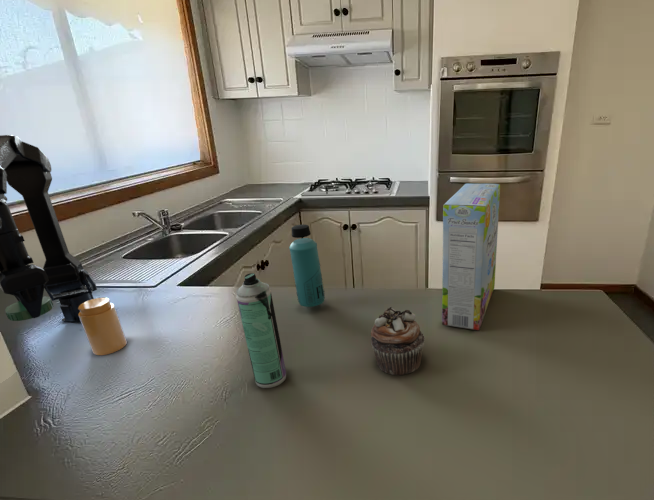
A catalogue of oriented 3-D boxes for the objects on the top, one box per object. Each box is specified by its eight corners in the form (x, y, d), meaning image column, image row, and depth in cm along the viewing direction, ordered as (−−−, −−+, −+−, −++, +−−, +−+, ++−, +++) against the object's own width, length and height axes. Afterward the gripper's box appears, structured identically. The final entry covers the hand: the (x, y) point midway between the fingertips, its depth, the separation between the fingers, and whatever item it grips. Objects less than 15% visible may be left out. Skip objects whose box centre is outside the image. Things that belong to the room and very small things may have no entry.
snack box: (483, 332, 84) (487, 205, 74) (440, 327, 87) (438, 204, 77) (497, 288, 102) (501, 181, 92) (461, 285, 106) (462, 181, 96)
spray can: (292, 371, 77) (273, 269, 69) (276, 390, 72) (254, 282, 64) (266, 367, 78) (245, 267, 71) (249, 385, 74) (224, 280, 66)
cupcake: (364, 373, 74) (359, 323, 70) (382, 345, 83) (379, 299, 79) (417, 382, 71) (415, 330, 67) (430, 351, 79) (429, 303, 75)
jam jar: (107, 339, 94) (92, 296, 90) (133, 339, 93) (118, 296, 89) (85, 355, 88) (67, 310, 84) (112, 355, 87) (96, 310, 83)
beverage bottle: (321, 313, 97) (309, 229, 89) (294, 312, 99) (280, 230, 91) (329, 301, 103) (319, 221, 95) (304, 300, 104) (291, 222, 97)
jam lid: (-1, 323, 76) (-5, 314, 75) (22, 306, 82) (19, 298, 81) (41, 318, 76) (37, 309, 76) (60, 302, 83) (57, 294, 82)
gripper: (-72, 237, 74) (-32, 316, 80) (-61, 255, 62) (-15, 346, 68) (8, 221, 81) (39, 295, 87) (31, 235, 69) (65, 318, 75)
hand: (31, 312), depth 79 cm, fingers closed on jam lid, 7 cm apart
